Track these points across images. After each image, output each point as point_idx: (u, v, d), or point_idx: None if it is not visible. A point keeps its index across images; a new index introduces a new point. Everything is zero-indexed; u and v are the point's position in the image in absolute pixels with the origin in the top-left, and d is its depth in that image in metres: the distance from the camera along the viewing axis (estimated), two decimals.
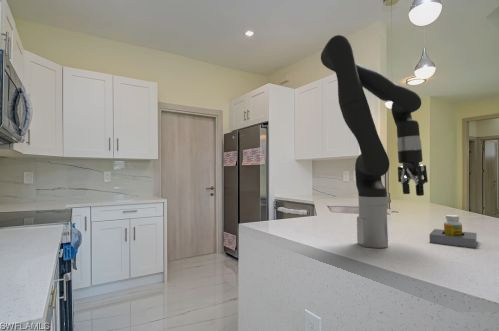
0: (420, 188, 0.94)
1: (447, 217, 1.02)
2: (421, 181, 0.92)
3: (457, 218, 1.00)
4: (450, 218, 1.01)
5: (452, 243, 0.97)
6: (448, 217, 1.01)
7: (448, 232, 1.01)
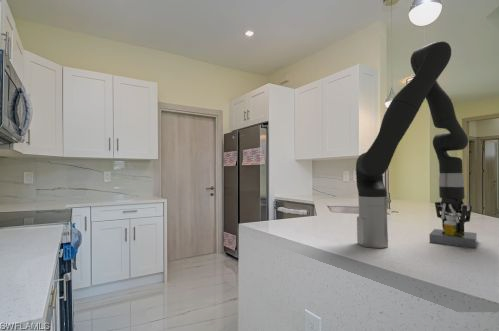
0: None
1: (447, 217, 1.02)
2: None
3: None
4: (450, 218, 1.01)
5: (452, 243, 0.97)
6: (448, 217, 1.01)
7: (448, 232, 1.01)
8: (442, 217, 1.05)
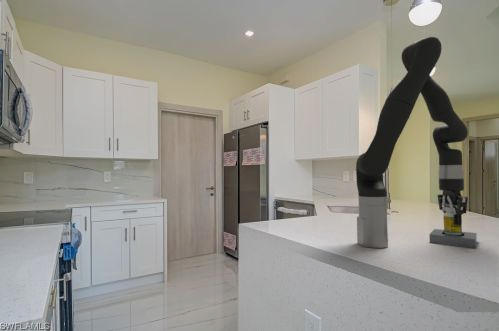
0: None
1: (446, 209, 1.02)
2: None
3: None
4: (448, 210, 1.01)
5: (452, 243, 0.97)
6: (446, 209, 1.02)
7: (446, 224, 1.01)
8: (443, 209, 1.05)
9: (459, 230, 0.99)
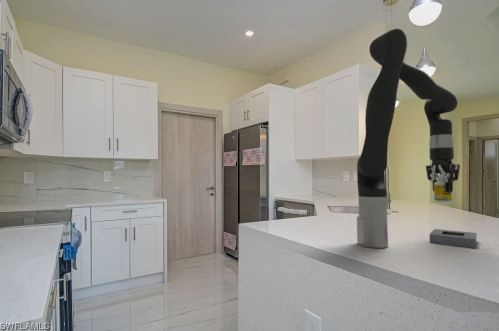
0: None
1: (437, 178, 1.05)
2: None
3: None
4: (440, 178, 1.04)
5: (452, 243, 0.97)
6: (438, 177, 1.04)
7: (438, 192, 1.04)
8: (432, 179, 1.08)
9: (450, 198, 1.02)
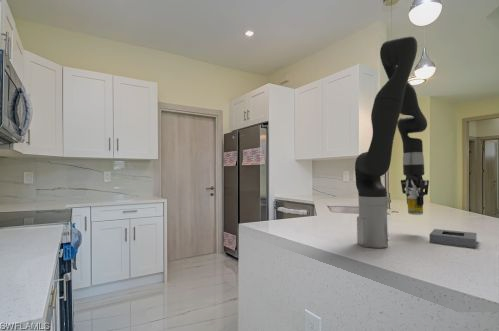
0: None
1: (409, 192, 1.14)
2: None
3: None
4: (412, 193, 1.13)
5: (452, 243, 0.97)
6: (410, 192, 1.14)
7: (410, 205, 1.13)
8: (406, 193, 1.17)
9: (421, 210, 1.11)
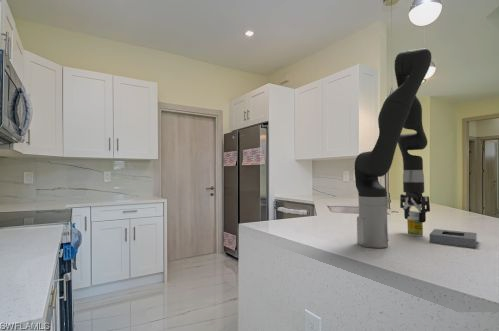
0: None
1: (410, 213, 1.14)
2: None
3: (418, 214, 1.12)
4: (412, 214, 1.13)
5: (452, 243, 0.97)
6: (410, 213, 1.13)
7: (410, 226, 1.13)
8: (404, 207, 1.18)
9: (421, 232, 1.11)
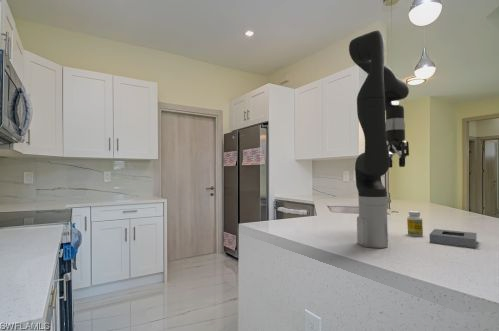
0: None
1: (409, 213, 1.14)
2: None
3: (418, 214, 1.12)
4: (412, 214, 1.13)
5: (452, 243, 0.97)
6: (410, 213, 1.13)
7: (410, 226, 1.13)
8: None
9: (421, 232, 1.11)
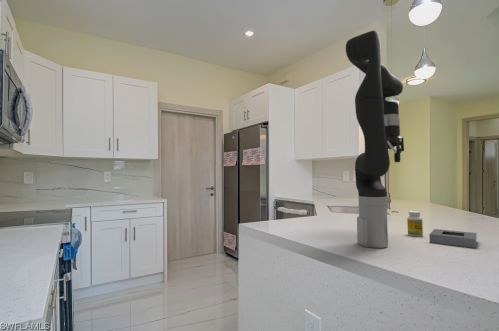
0: None
1: (409, 213, 1.14)
2: None
3: (418, 214, 1.12)
4: (412, 214, 1.13)
5: (452, 243, 0.97)
6: (410, 213, 1.13)
7: (410, 226, 1.13)
8: None
9: (421, 232, 1.11)
